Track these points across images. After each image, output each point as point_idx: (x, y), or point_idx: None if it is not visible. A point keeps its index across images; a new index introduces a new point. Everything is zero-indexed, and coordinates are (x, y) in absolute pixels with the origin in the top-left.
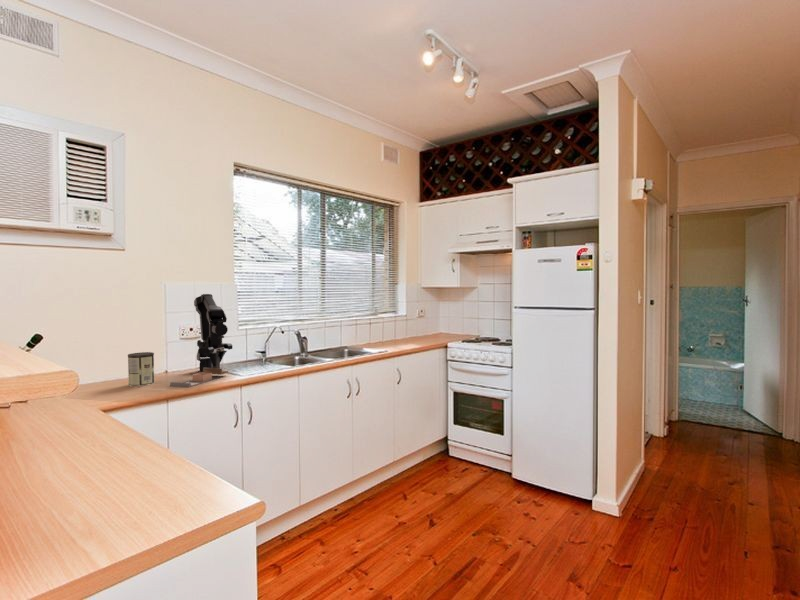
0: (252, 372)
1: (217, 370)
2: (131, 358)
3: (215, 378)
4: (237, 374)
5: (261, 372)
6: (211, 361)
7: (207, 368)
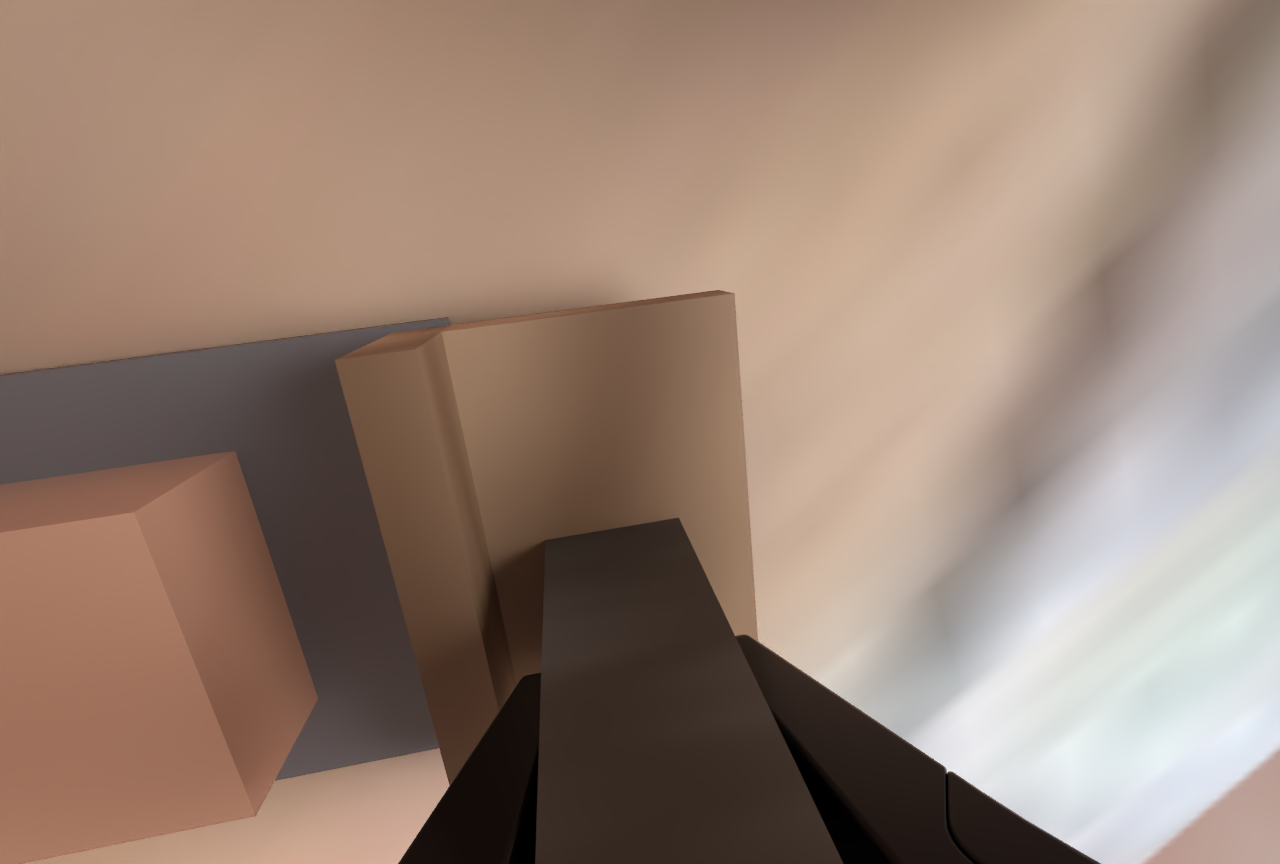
0: (1145, 738)
1: None
2: None
3: (408, 701)
4: (942, 666)
5: (1157, 841)
6: (432, 824)
7: (387, 536)
